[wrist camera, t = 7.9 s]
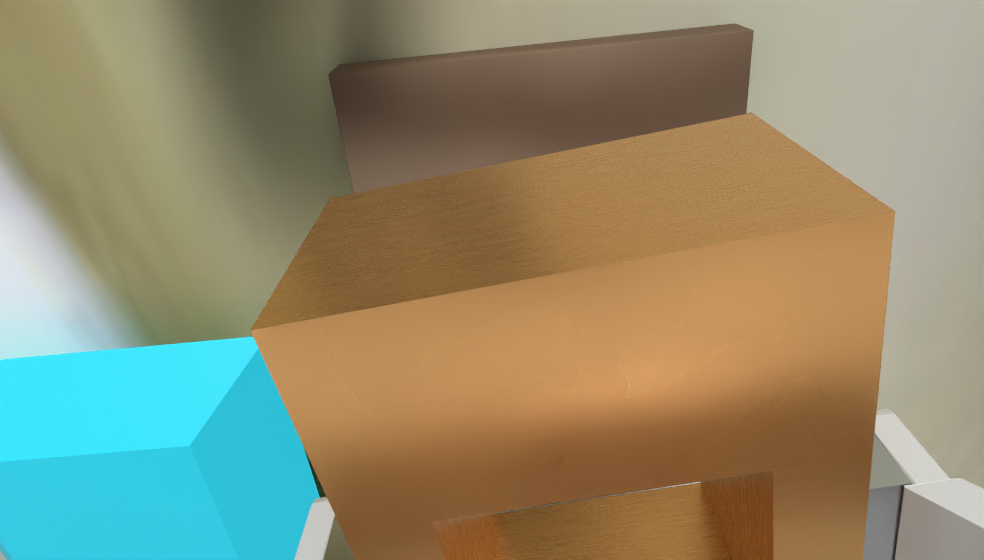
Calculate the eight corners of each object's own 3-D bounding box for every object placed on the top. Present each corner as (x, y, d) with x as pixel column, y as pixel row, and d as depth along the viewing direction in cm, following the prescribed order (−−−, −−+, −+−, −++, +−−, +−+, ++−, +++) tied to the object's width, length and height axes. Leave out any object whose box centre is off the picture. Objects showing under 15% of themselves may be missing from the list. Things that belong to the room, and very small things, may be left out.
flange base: (339, 64, 20) (278, 119, 14) (735, 23, 19) (838, 62, 14) (414, 436, 27) (394, 573, 21) (705, 414, 26) (765, 548, 21)
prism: (-66, 333, 25) (-176, 405, 21) (288, 301, 24) (244, 370, 20) (75, 581, 32) (12, 674, 27) (361, 562, 31) (339, 655, 27)
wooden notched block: (329, 198, 11) (251, 330, 7) (751, 113, 10) (895, 210, 6) (484, 639, 16) (482, 837, 13) (760, 603, 16) (840, 800, 12)
